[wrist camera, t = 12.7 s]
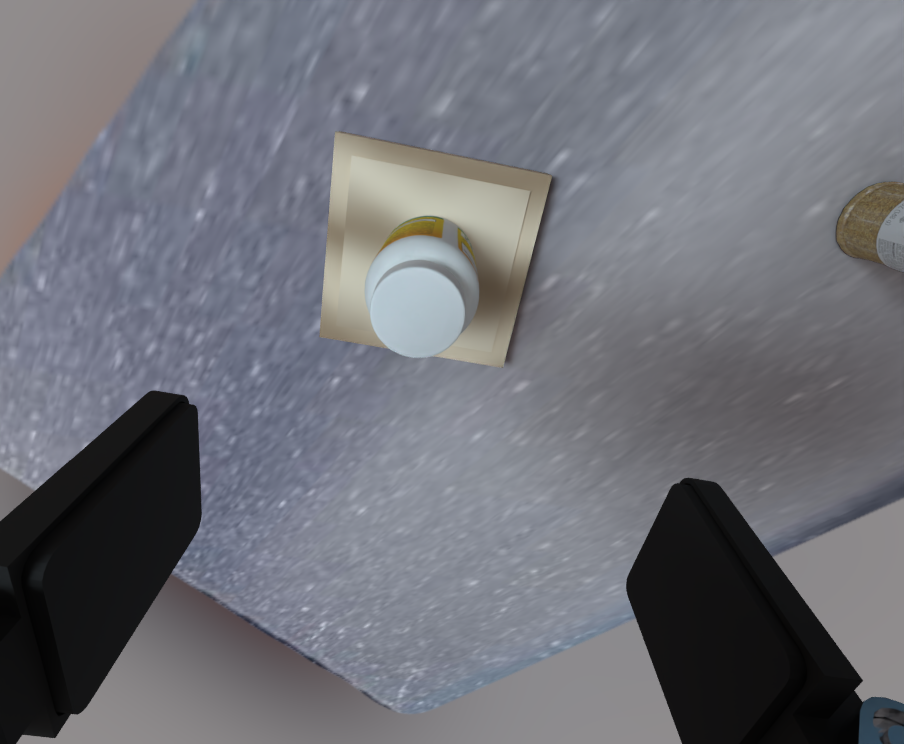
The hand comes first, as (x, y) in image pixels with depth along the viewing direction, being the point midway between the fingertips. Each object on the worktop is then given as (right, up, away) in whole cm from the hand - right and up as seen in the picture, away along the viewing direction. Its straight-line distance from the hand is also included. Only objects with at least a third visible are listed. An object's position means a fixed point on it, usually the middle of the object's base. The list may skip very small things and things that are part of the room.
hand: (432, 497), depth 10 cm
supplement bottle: (-1, +9, +20) cm, 22 cm away
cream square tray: (-1, +10, +21) cm, 23 cm away
